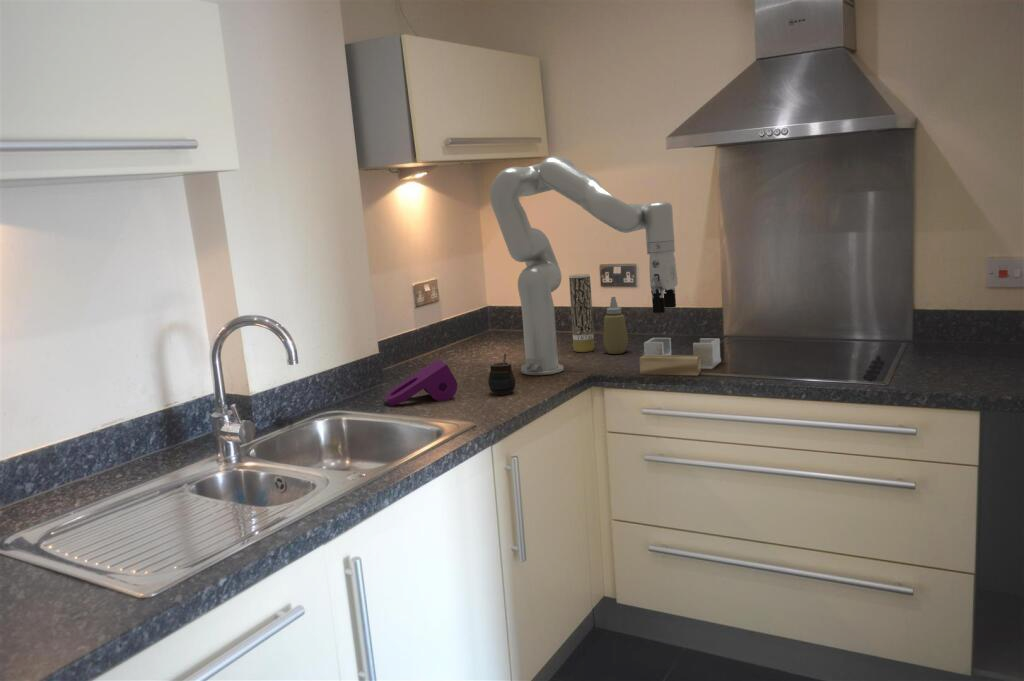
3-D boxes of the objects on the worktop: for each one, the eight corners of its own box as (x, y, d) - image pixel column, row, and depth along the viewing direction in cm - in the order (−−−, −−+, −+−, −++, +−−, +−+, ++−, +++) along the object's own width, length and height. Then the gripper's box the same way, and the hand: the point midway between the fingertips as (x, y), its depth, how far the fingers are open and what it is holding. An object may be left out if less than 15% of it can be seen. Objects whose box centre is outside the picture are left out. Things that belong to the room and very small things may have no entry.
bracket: (712, 368, 237) (711, 344, 235) (643, 366, 246) (642, 343, 245) (721, 361, 245) (720, 337, 244) (654, 360, 255) (653, 337, 253)
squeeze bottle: (626, 355, 266) (623, 298, 263) (601, 355, 268) (597, 299, 265) (631, 350, 273) (628, 294, 270) (606, 350, 276) (603, 295, 273)
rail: (697, 376, 230) (696, 358, 229) (640, 375, 237) (639, 357, 236) (700, 373, 234) (699, 355, 233) (644, 372, 240) (643, 354, 239)
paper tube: (569, 350, 280) (565, 275, 276) (587, 348, 282) (583, 273, 278) (580, 353, 274) (575, 276, 269) (598, 350, 276) (593, 274, 272)
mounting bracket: (405, 428, 220) (462, 390, 224) (388, 402, 218) (446, 364, 222) (398, 420, 229) (453, 384, 233) (382, 395, 227) (438, 358, 230)
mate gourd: (486, 396, 223) (483, 359, 222) (492, 390, 231) (489, 354, 229) (513, 396, 222) (510, 358, 220) (518, 389, 229) (515, 353, 228)
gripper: (663, 250, 222) (668, 314, 224) (683, 244, 237) (687, 305, 239) (636, 251, 225) (641, 315, 228) (657, 246, 240) (661, 305, 243)
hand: (664, 309), depth 234 cm, fingers open, 9 cm apart
